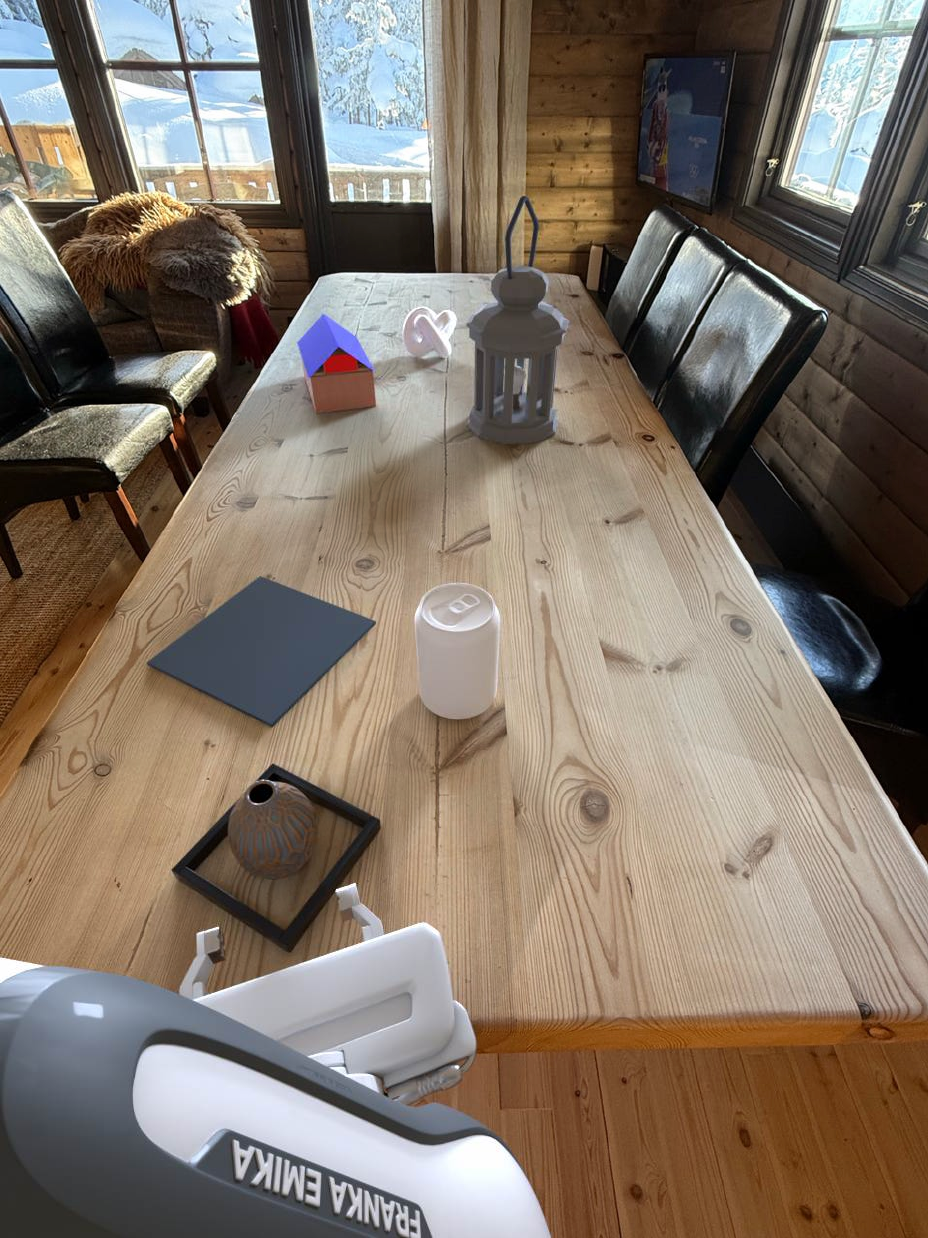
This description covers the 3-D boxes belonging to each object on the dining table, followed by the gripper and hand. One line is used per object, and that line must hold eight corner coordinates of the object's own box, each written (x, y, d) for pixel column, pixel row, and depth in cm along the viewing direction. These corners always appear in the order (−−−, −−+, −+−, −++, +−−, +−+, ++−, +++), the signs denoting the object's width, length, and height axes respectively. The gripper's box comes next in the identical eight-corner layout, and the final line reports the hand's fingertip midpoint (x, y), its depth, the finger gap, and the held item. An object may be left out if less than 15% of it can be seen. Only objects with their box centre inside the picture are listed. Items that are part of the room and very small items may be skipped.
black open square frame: (289, 954, 49) (286, 945, 48) (176, 879, 54) (170, 869, 53) (381, 828, 57) (379, 819, 56) (275, 772, 62) (272, 762, 61)
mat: (272, 727, 66) (271, 724, 65) (147, 664, 72) (146, 662, 72) (376, 623, 78) (375, 621, 77) (260, 578, 84) (260, 575, 84)
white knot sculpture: (465, 361, 143) (465, 317, 137) (411, 366, 140) (409, 322, 134) (452, 344, 151) (451, 302, 145) (400, 349, 148) (398, 306, 142)
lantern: (485, 399, 127) (489, 184, 104) (569, 412, 122) (593, 190, 99) (452, 435, 115) (449, 201, 92) (544, 451, 111) (565, 209, 88)
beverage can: (403, 692, 69) (396, 604, 61) (460, 655, 73) (459, 569, 66) (455, 736, 65) (454, 648, 57) (512, 695, 69) (518, 607, 61)
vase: (222, 876, 54) (193, 816, 48) (269, 807, 59) (248, 745, 53) (296, 904, 52) (275, 846, 46) (337, 831, 57) (323, 770, 51)
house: (359, 369, 139) (353, 310, 131) (378, 406, 125) (372, 342, 117) (302, 375, 136) (292, 316, 129) (314, 414, 122) (304, 349, 114)
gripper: (488, 1056, 37) (420, 843, 47) (93, 1214, 32) (110, 938, 42) (485, 1088, 41) (423, 886, 51) (136, 1233, 36) (142, 978, 46)
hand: (280, 910), depth 46 cm, fingers open, 8 cm apart
